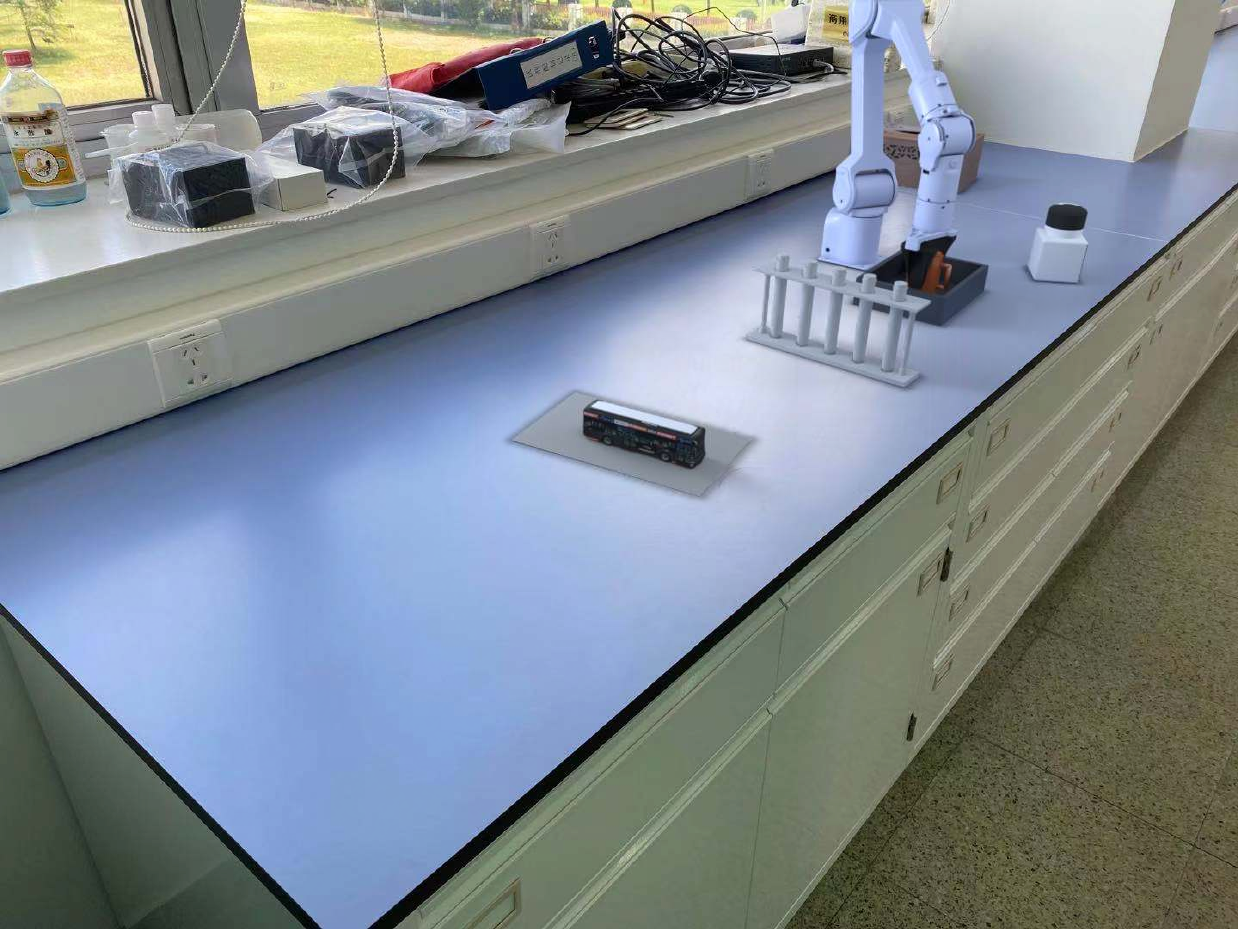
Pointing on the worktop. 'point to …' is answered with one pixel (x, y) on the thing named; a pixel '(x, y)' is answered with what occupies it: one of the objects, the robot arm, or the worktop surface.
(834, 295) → the test tube rack
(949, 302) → the bin
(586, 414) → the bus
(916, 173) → the tissue box cover
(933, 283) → the cup
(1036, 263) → the medicine bottle
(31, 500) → the worktop surface
